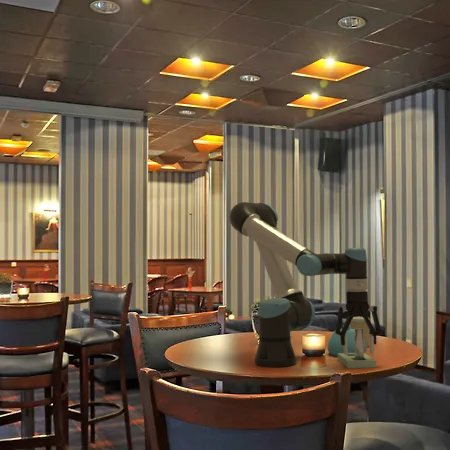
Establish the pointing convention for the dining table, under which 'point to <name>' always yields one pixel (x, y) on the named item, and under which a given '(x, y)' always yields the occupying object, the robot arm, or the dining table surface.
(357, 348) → the grey stone block
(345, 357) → the hole board
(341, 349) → the sugar bowl
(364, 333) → the coffee cup
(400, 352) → the dining table surface
